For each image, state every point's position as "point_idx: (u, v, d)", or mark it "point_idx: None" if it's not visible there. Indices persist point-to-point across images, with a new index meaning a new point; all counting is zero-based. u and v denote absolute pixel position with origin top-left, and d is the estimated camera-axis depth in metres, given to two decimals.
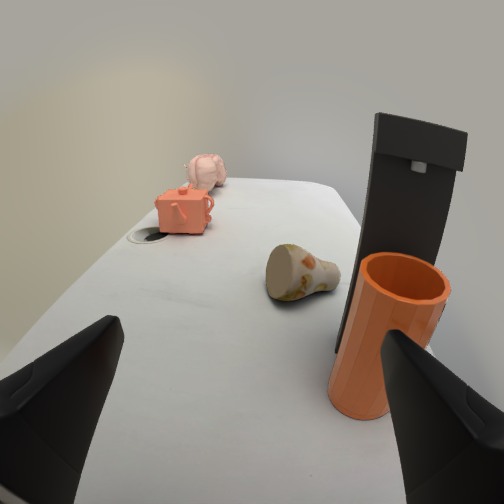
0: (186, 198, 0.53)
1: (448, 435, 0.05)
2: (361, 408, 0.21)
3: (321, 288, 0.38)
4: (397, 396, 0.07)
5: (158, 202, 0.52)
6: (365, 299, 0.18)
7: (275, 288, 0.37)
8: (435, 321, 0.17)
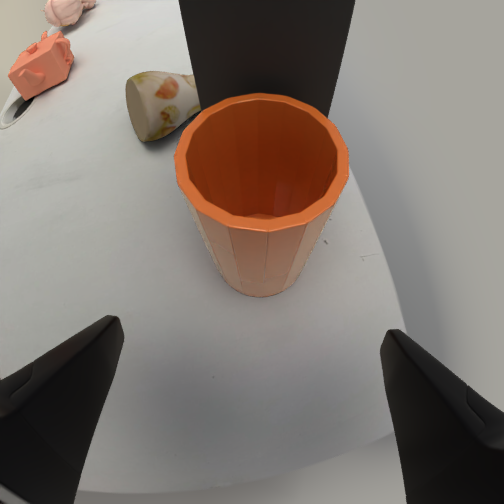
0: (35, 56, 0.26)
1: (448, 435, 0.05)
2: (253, 292, 0.21)
3: (198, 110, 0.27)
4: (397, 396, 0.07)
5: (10, 76, 0.26)
6: (190, 207, 0.12)
7: (139, 130, 0.26)
8: (319, 227, 0.12)
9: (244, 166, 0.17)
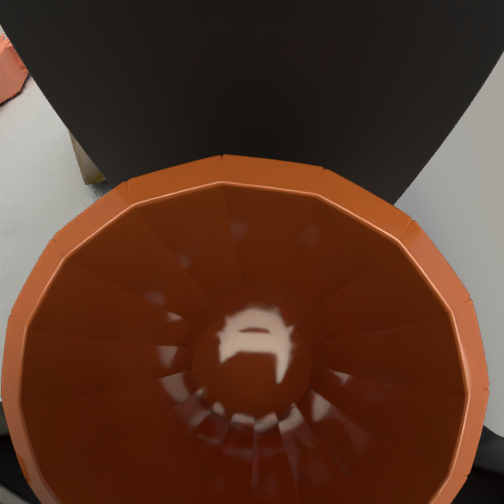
0: None
1: None
2: None
3: None
4: None
5: None
6: None
7: None
8: None
9: (214, 286, 0.09)
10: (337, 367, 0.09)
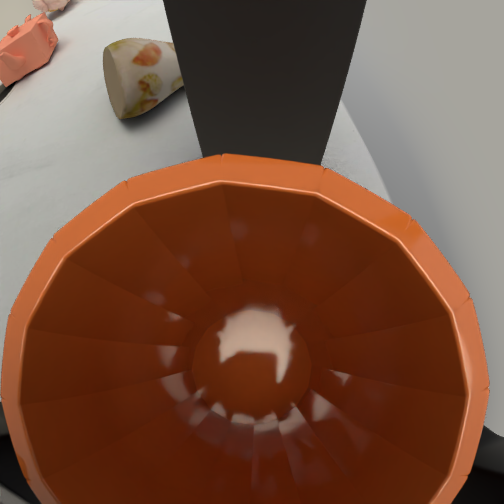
0: (15, 38, 0.21)
1: None
2: None
3: None
4: None
5: None
6: None
7: (116, 106, 0.20)
8: None
9: (214, 286, 0.09)
10: (337, 367, 0.09)
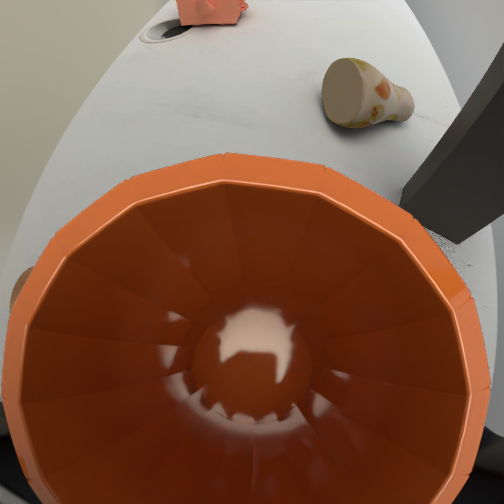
0: None
1: None
2: None
3: (390, 118, 0.25)
4: None
5: None
6: None
7: (335, 111, 0.25)
8: None
9: (215, 285, 0.09)
10: (338, 367, 0.09)
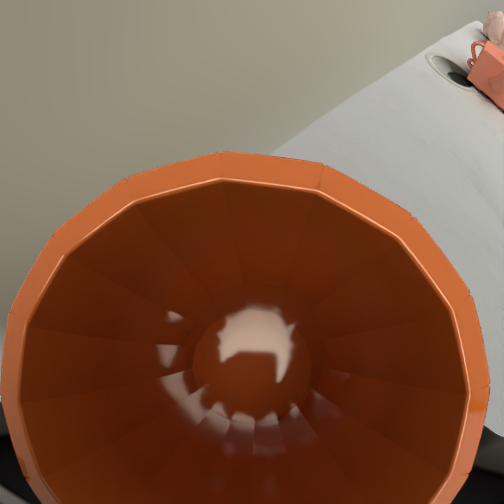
0: None
1: None
2: None
3: None
4: None
5: (483, 52, 0.23)
6: None
7: None
8: None
9: (214, 284, 0.09)
10: (337, 366, 0.09)
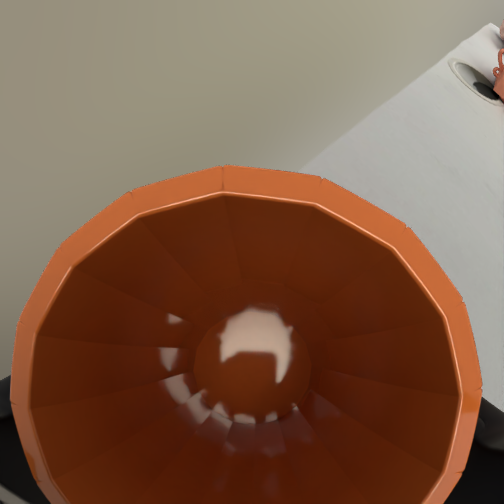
0: None
1: None
2: None
3: None
4: None
5: None
6: None
7: None
8: None
9: (215, 289, 0.09)
10: (336, 367, 0.09)
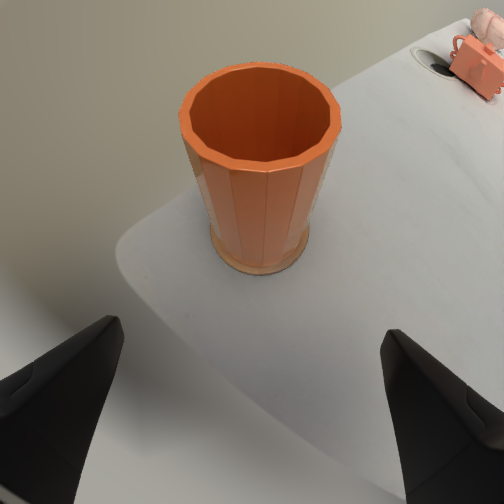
0: (493, 62, 0.25)
1: (448, 435, 0.05)
2: (253, 260, 0.21)
3: None
4: (397, 396, 0.07)
5: (463, 44, 0.27)
6: (193, 159, 0.12)
7: None
8: (316, 177, 0.13)
9: (243, 134, 0.18)
10: None
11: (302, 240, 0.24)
